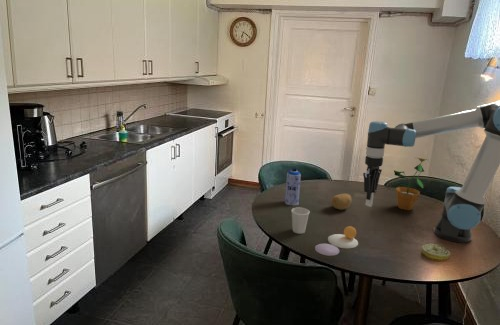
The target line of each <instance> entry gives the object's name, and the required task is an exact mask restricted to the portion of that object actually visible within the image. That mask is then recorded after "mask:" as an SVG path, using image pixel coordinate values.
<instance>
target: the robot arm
mask: <svg viewBox="0 0 500 325" xmlns="http://www.w3.org/2000/svg"><path fill="white" fill-rule="evenodd" d="M473 128H480V129H484V130H483V132H484V133H485V138H484V140H483V142H482V144H481V145H480V148H479V151H478V152H477V154H476V157H475V158H474V161H473V162H472V165H471V167H470V169H469V171H468V174H467V175H466V177H465V179H464V181H463V184H462V187H460V186H449V187H447V188H446V191H445V198H444V201H443V208H442V213H441V217H440V219H439V220H438V222H437V223H436V225H435V226H434V233H435V234H436V235H437V236H438V237H440V238H442V239H444V240H446V241H450V242H454V241H455V243H469V242H470V241H471V240H472V236H473V234H472V229H474V228H475V227H477V226H478V225H479V224H480V222H481V219H482V214H481V212H482V211H483V208H484V207H485V205H486V200H485V199H484V197H485V195H486V194H487V191H488V190H489V187H490V185H491V183H492V181H493V179H494V177H495V175H496V173H497V171H498V169H499V167H500V100H497V101H494V102H490V103H487V104H482V105H478V106H477V107H476V108H474V109H471V110H464V111H461V112H456V113H452V114H447V115H440V116H436V117H432V118H427V119H423V120H417V121H413V122H408V123H404V122H403V123H399V124H396V125H395V127H388V123H387V122H385V121H378V120H376V121H371V122H370V123H369V125H368V131H367V141H366V148H365V149H366V152H365V155H366V156H365V158H364V159H365V161H364V164H365V165H366V166H367V167H366V172H363V174H362V176H363V189H364V190H363V191H364V192H365V193H366V198H365V206H367V207H371V208H372V207H373V203H374V202H373V201H374V194H375V193H377V190H378V186H379V182H380V177H381V174H382V169H381V168H380V167H382V166H383V164H384V158H383V157H384V155H385V148H386V146H385V145H388V146H389V145H390V146H400V147H404V148H406V147H410V148H412V147H415V143H416V139H419V138H424V137H425V138H426V137H429V136H436V135H441V134H446V133H451V132H457V131H463V130H468V129H473Z"/></svg>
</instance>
